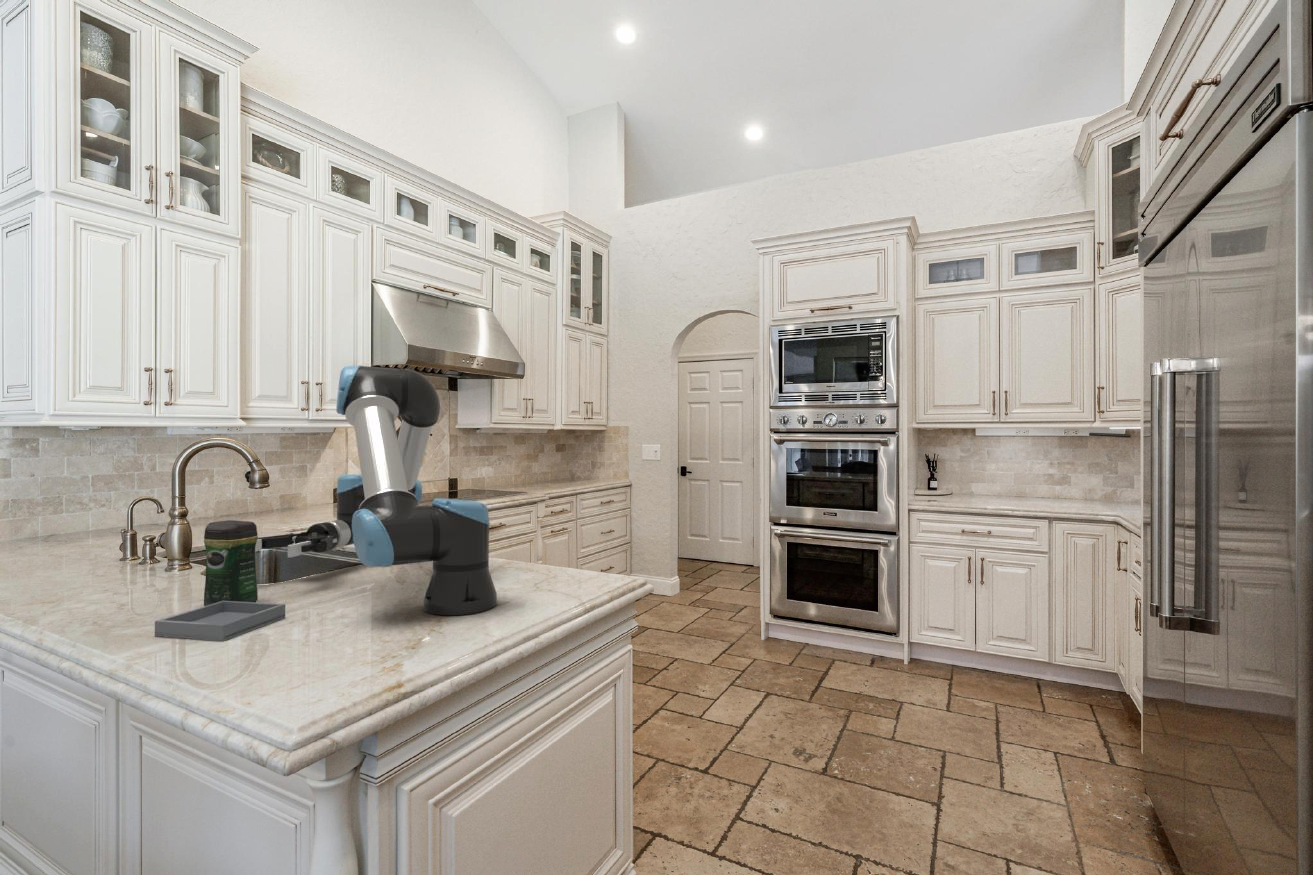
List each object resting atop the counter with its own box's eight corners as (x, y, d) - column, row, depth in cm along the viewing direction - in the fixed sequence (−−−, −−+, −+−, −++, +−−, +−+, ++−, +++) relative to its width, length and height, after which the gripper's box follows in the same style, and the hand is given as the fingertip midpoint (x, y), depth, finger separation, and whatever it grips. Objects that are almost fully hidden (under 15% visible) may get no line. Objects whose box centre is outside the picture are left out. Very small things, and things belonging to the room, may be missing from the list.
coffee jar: (265, 602, 137) (265, 518, 137) (233, 612, 130) (233, 523, 130) (229, 599, 140) (229, 517, 140) (195, 609, 132) (196, 522, 132)
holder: (285, 617, 126) (285, 604, 126) (223, 641, 111) (223, 625, 111) (223, 614, 128) (223, 600, 128) (154, 636, 114) (154, 621, 114)
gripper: (369, 551, 162) (310, 568, 141) (286, 548, 166) (216, 564, 146) (369, 523, 162) (310, 535, 141) (286, 520, 166) (217, 532, 146)
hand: (263, 550), depth 143 cm, fingers open, 13 cm apart
